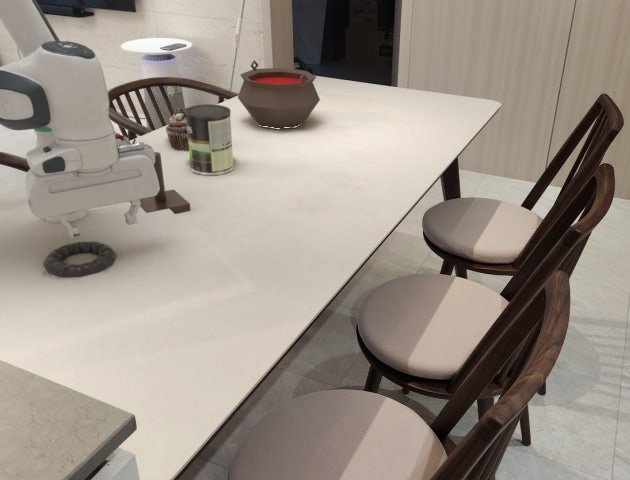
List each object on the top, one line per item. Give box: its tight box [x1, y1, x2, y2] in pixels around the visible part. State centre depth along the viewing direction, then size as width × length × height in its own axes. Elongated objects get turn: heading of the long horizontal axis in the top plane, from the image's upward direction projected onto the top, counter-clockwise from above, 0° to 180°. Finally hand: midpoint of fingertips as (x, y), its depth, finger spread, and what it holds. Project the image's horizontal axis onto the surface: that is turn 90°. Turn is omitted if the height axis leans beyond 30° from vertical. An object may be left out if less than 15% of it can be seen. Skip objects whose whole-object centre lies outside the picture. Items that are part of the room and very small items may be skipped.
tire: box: [43, 241, 118, 278], centre depth 108 cm, size 11×11×3 cm
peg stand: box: [139, 151, 191, 214], centre depth 129 cm, size 9×9×12 cm
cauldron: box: [237, 59, 321, 128], centre depth 185 cm, size 24×24×16 cm
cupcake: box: [165, 106, 189, 151], centre depth 164 cm, size 10×10×10 cm
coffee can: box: [184, 103, 235, 176], centre depth 150 cm, size 10×10×14 cm
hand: (103, 229), depth 108 cm, fingers open, 8 cm apart
